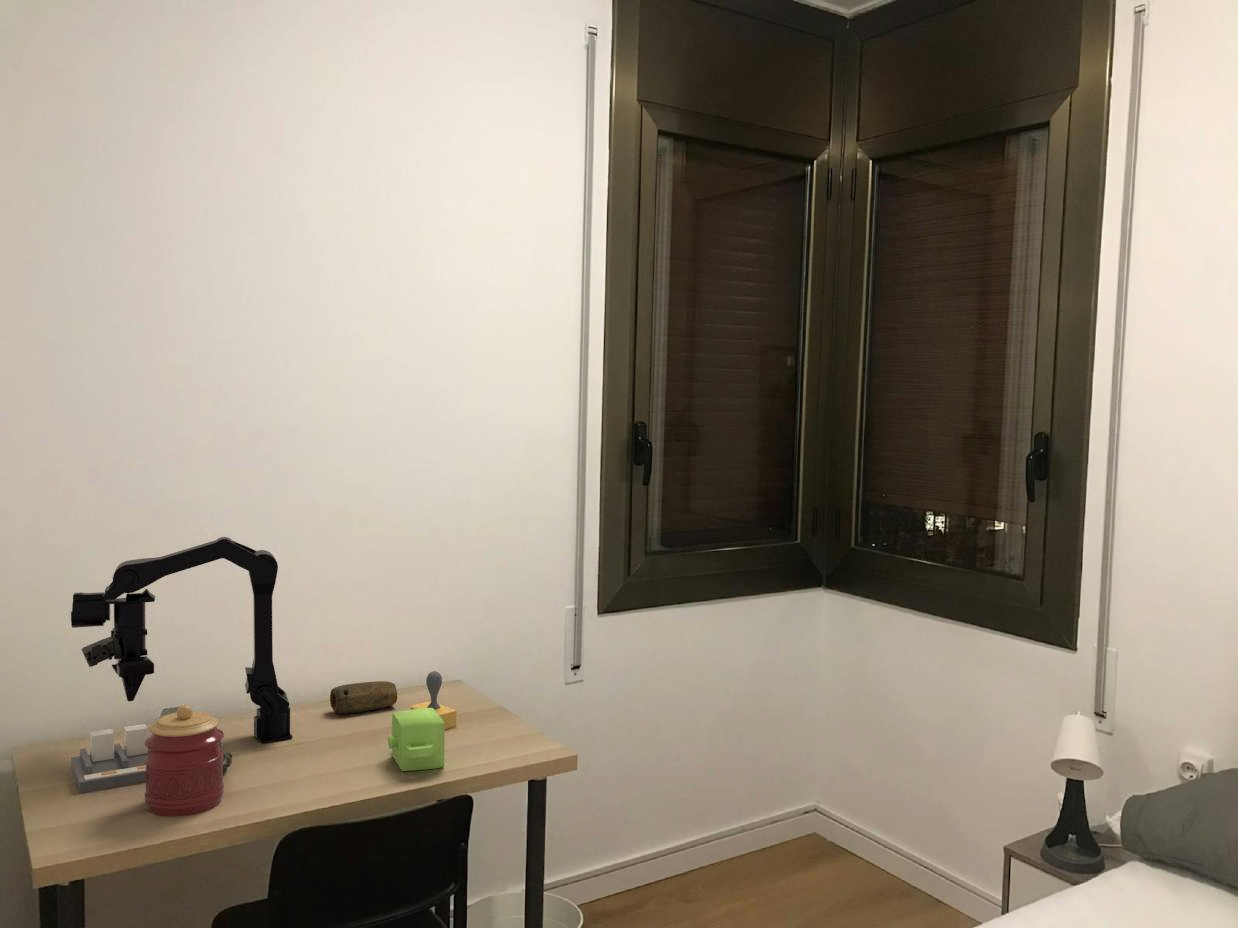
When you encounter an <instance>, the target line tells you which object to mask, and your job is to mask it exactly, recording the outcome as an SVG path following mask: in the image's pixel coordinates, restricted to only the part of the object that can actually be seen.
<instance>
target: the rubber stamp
mask: <svg viewBox="0 0 1238 928" xmlns="http://www.w3.org/2000/svg"><path fill="white" fill-rule="evenodd" d="M425 681H426V688H427V690H428V692H429V695H430V701H425V702H421V703H416V704H413V705H411V706H410V710H412V709H421V708H433V709H434V710H435V711H436V712H437V713H438V714H439V716H440V717H441V718H442V720H443V721H444V723H445V730H448V729H451V728H452V729H453V728H455V727H457V710H456V709H453V708H451V707H448V706H446V705H443V704H440V703H438V695H439V692H440V689H441V686H442V683H443V677H442V675H441V673H440V672H438V671H436V670H431V671H430V672H429V673H428V674H427V676H426V680H425Z"/></svg>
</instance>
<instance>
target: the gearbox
mask: <svg viewBox="0 0 1238 928" xmlns="http://www.w3.org/2000/svg"><path fill="white" fill-rule="evenodd" d="M391 717H392V719H391V734H389V735H388V737H387V743H388V748H389V750H391V755H392V757H393V758H394V761H395V762H396V764H397V766H398V767H399V769H400V770H401V771H402V772H409V771H423V770H431V769H439V768H444V767H445V736H446V735H445V733H446V732H445V731H446V729H445V723H444V721H443V720H442V718H441V717H440V716H439V714H438V713H437V712H436V711H435V710H434V709H433V708H421V709H412V710H411V709H406V710H405V709H404V710H400V711H393V712H392V713H391Z"/></svg>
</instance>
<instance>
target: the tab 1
mask: <svg viewBox="0 0 1238 928" xmlns="http://www.w3.org/2000/svg"><path fill="white" fill-rule="evenodd" d="M114 744H115V732H114V730H113V729H112V728H109V729H101V730H93V731H89V755H90V758H91V761H92V762H96V761H102V760H108V759H114Z"/></svg>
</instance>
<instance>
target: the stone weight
mask: <svg viewBox="0 0 1238 928" xmlns="http://www.w3.org/2000/svg"><path fill="white" fill-rule="evenodd" d="M397 701H398V690H397V685H396V684H395V683H393V682H391V681H387V680H385V681H383V680H379V681H377V680H376V681H367V682H366V681H365V682H364V681H363V682H359V683H358V682H356V683H347V684H342V685H338V686H335V687H333V688H332V689H331V691H330V695H329V702H330V707H331V709H332V710H333V712H334V714H337V715H344V714H345V715H347V714H355V713H356V714H357V713H361V712H362V713H364V712H369V711H375V710H380V709H383V708H387V707H391V706H394V705H395V704H396V703H397Z"/></svg>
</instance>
